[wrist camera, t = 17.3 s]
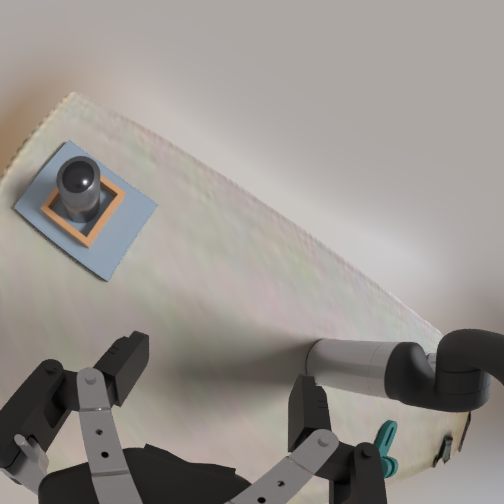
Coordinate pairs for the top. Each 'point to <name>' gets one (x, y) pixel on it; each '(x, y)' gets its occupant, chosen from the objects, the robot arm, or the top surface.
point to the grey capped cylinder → (80, 188)
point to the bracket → (387, 448)
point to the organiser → (98, 229)
